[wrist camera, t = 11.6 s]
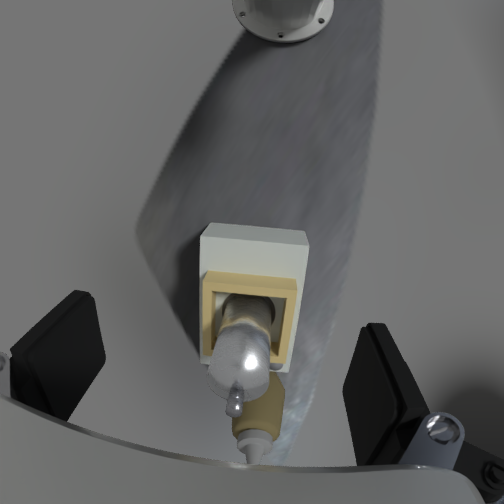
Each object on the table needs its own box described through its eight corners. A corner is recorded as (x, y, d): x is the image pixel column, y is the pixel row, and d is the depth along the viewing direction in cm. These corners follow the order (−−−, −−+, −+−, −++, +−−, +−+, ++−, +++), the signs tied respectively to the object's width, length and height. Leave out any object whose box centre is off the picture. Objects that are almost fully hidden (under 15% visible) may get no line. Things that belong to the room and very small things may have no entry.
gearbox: (210, 222, 40) (193, 244, 32) (304, 231, 40) (312, 255, 31) (208, 338, 46) (195, 377, 38) (287, 346, 46) (288, 387, 37)
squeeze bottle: (243, 397, 50) (231, 484, 33) (228, 363, 48) (210, 455, 31) (289, 390, 49) (291, 480, 32) (279, 355, 46) (278, 450, 30)
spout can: (226, 290, 36) (200, 372, 23) (273, 294, 36) (272, 380, 23) (224, 329, 38) (202, 416, 25) (268, 333, 38) (264, 423, 24)
